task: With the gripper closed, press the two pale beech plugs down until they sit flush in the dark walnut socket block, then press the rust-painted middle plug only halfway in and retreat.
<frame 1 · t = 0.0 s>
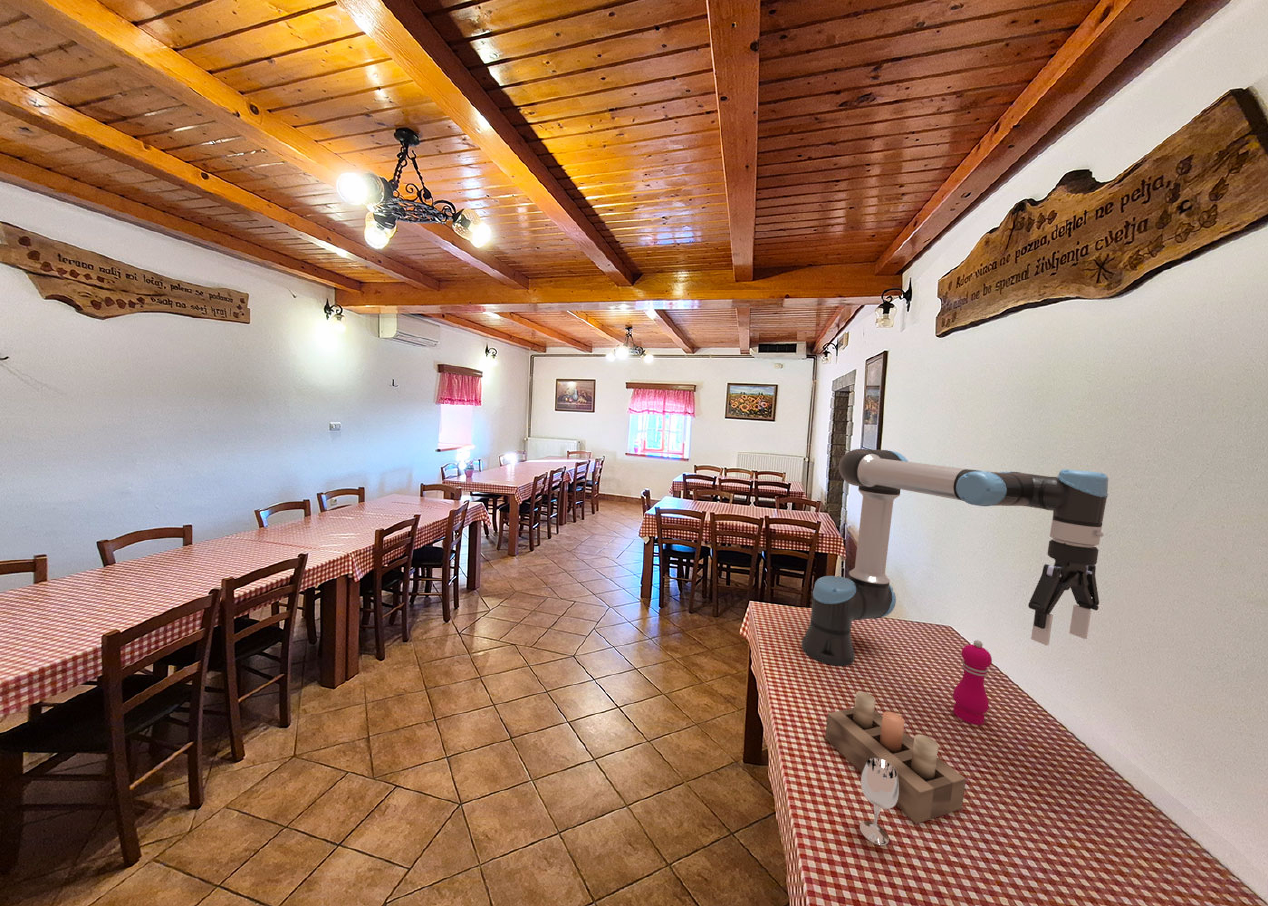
hand: (1059, 639, 96), 28 cm above the table, fingers open, 13 cm apart
rust plug: (892, 731, 91), point 9 cm above the table, slide at 0.0 cm
walnut socket block: (887, 770, 92), on the table
far beech plug: (864, 709, 98), point 9 cm above the table, slide at 0.0 cm
near beech plug: (924, 756, 85), point 9 cm above the table, slide at 0.0 cm
pepper mill: (968, 717, 112), on the table
wineglass: (873, 834, 77), on the table
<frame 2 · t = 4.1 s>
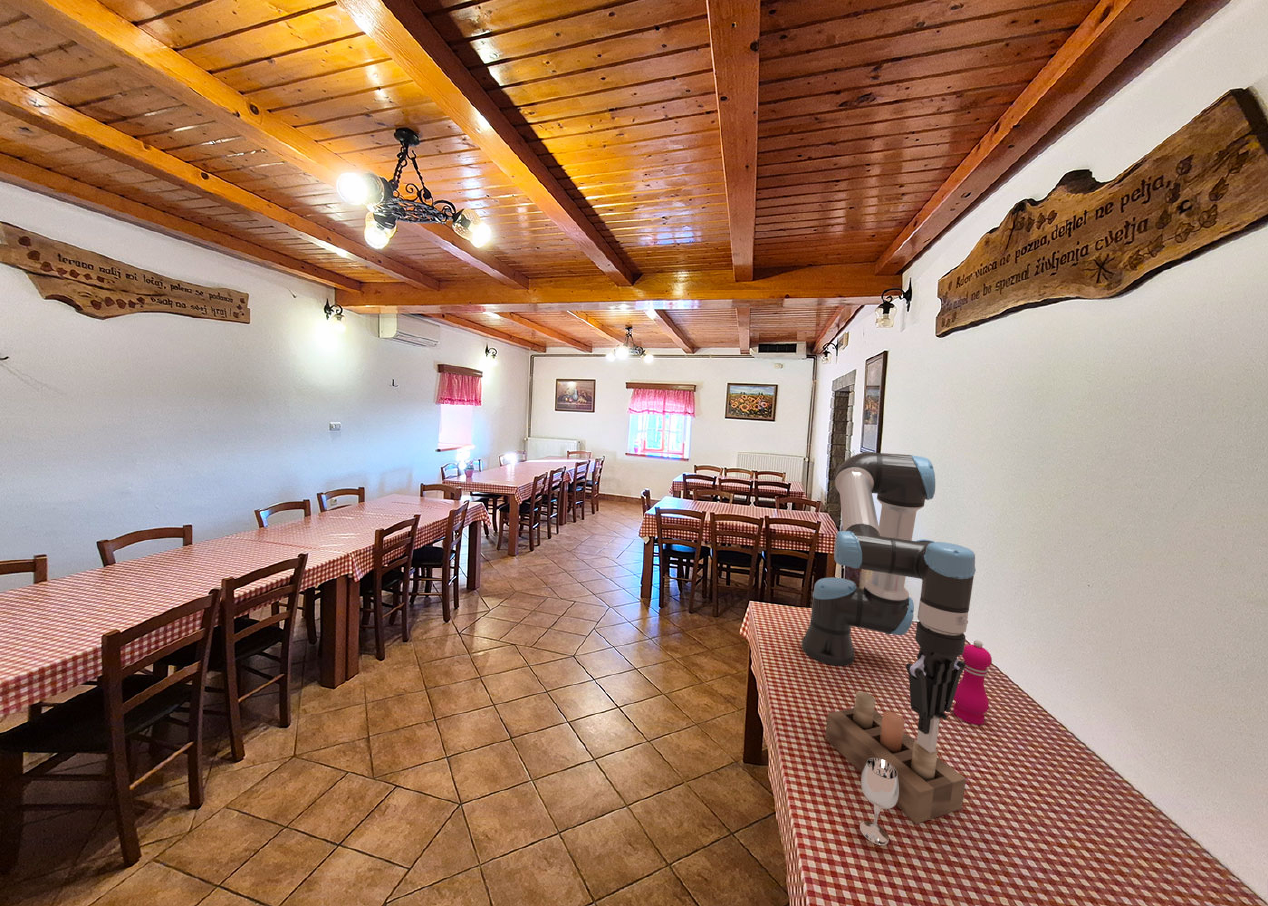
hand: (925, 747, 84), 10 cm above the table, fingers closed
near beech plug: (923, 762, 85), point 7 cm above the table, slide at 1.3 cm, touching gripper
everything else where it was.
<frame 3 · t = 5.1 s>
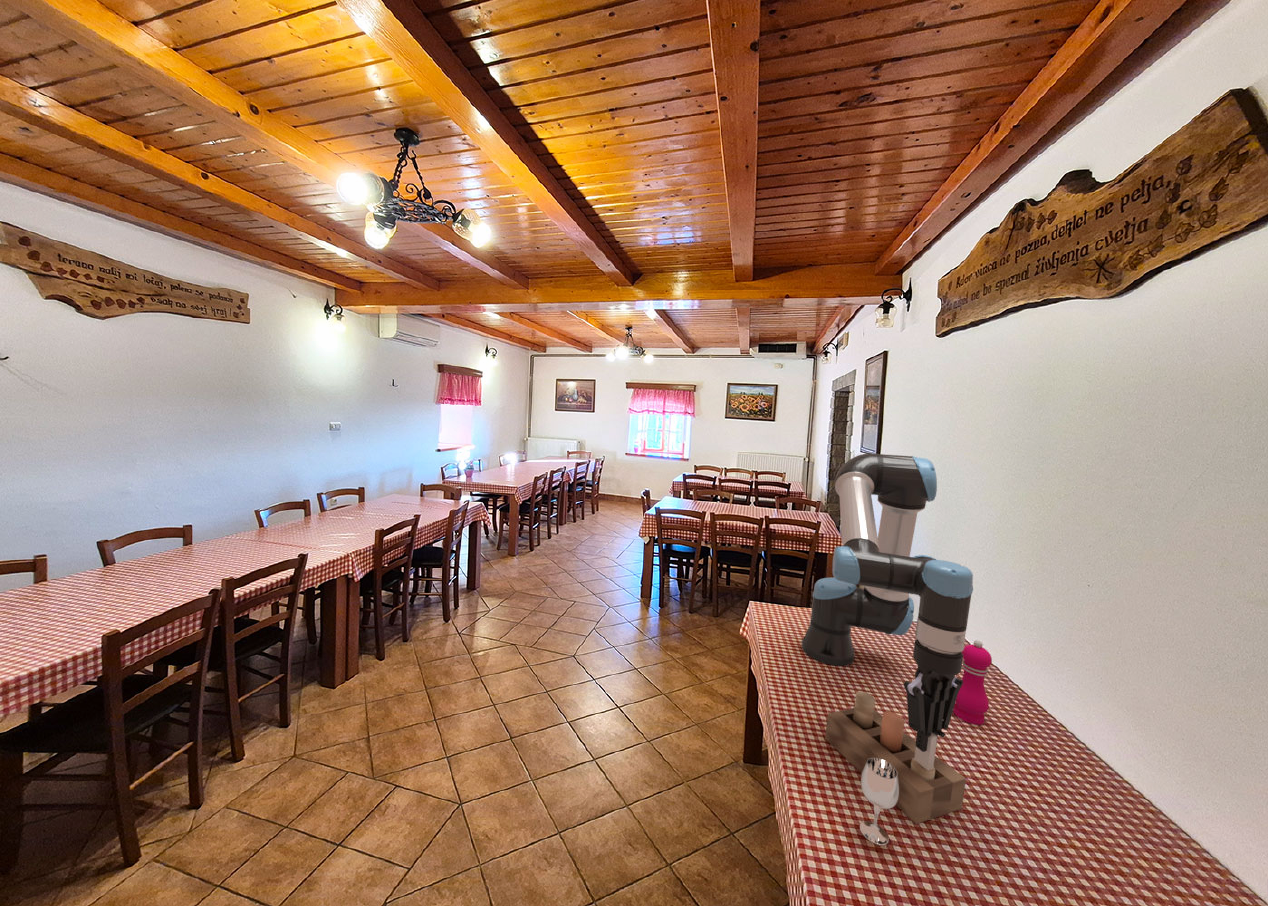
hand: (923, 764, 85), 7 cm above the table, fingers closed
near beech plug: (921, 779, 85), point 4 cm above the table, slide at 4.7 cm, touching gripper
everything else where it was.
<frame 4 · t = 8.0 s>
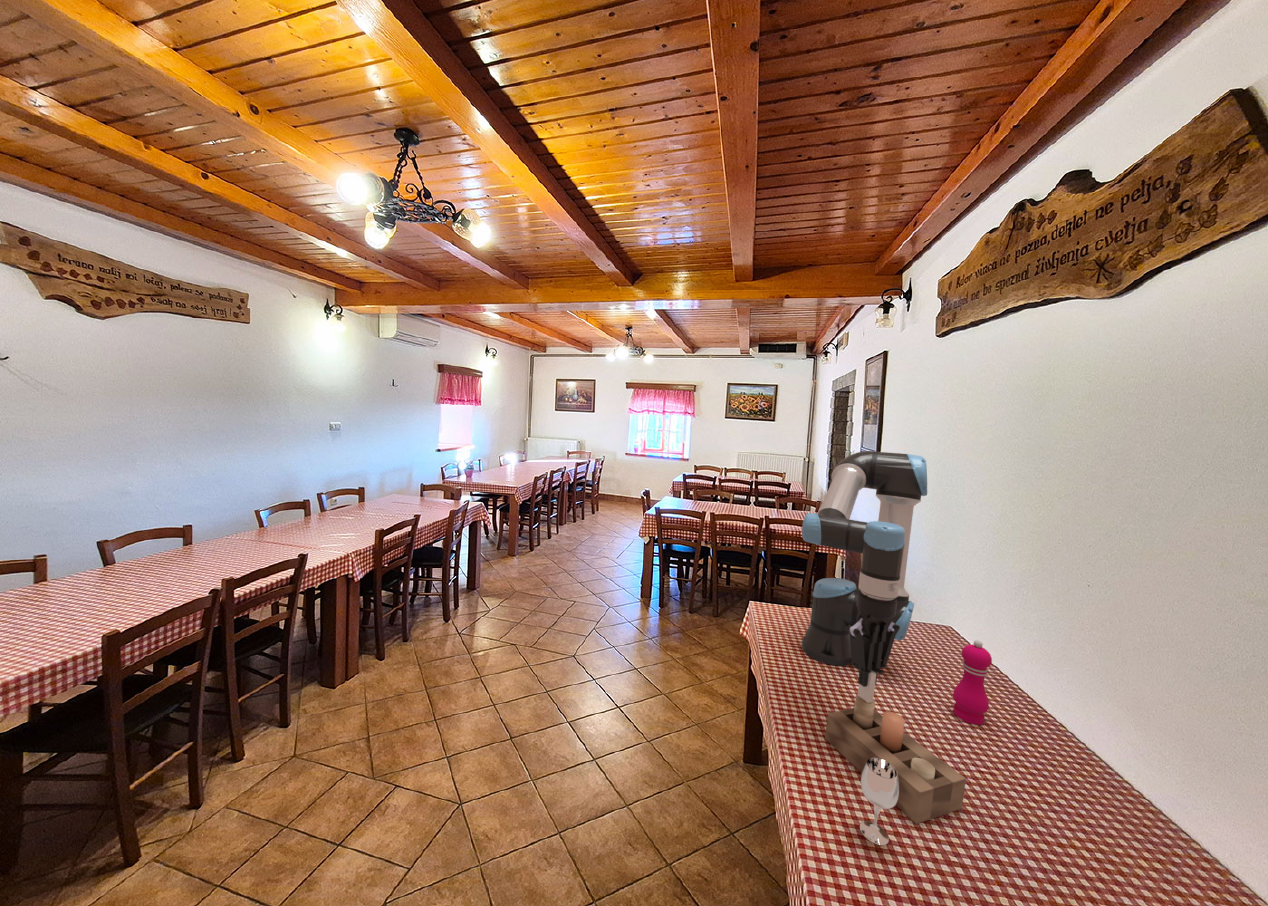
hand: (865, 698, 97), 11 cm above the table, fingers closed
far beech plug: (863, 712, 98), point 8 cm above the table, slide at 0.6 cm, touching gripper
near beech plug: (921, 779, 85), point 4 cm above the table, slide at 4.8 cm
everything else where it was.
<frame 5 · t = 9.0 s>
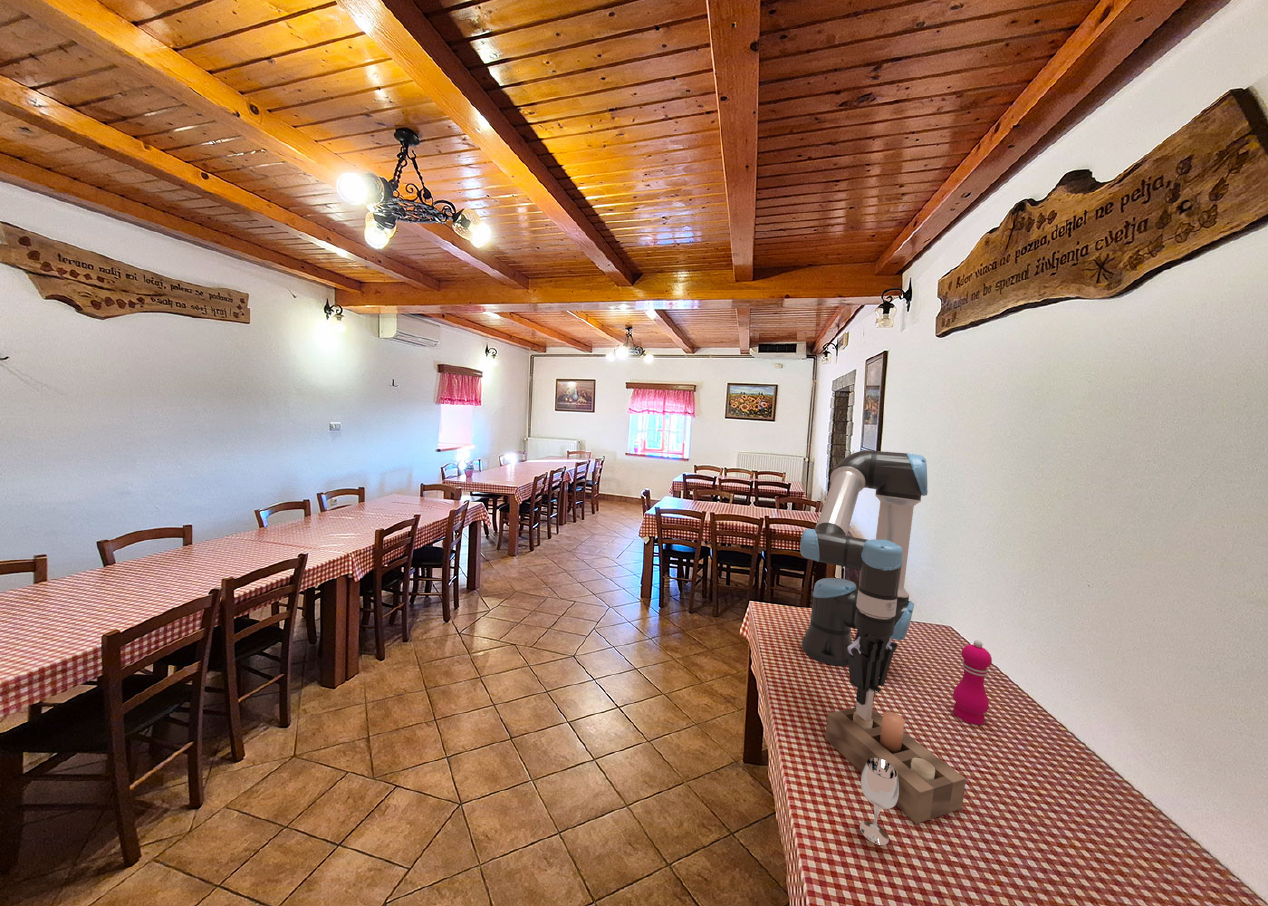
hand: (863, 716, 98), 7 cm above the table, fingers closed
far beech plug: (861, 730, 98), point 4 cm above the table, slide at 4.7 cm, touching gripper
everything else where it was.
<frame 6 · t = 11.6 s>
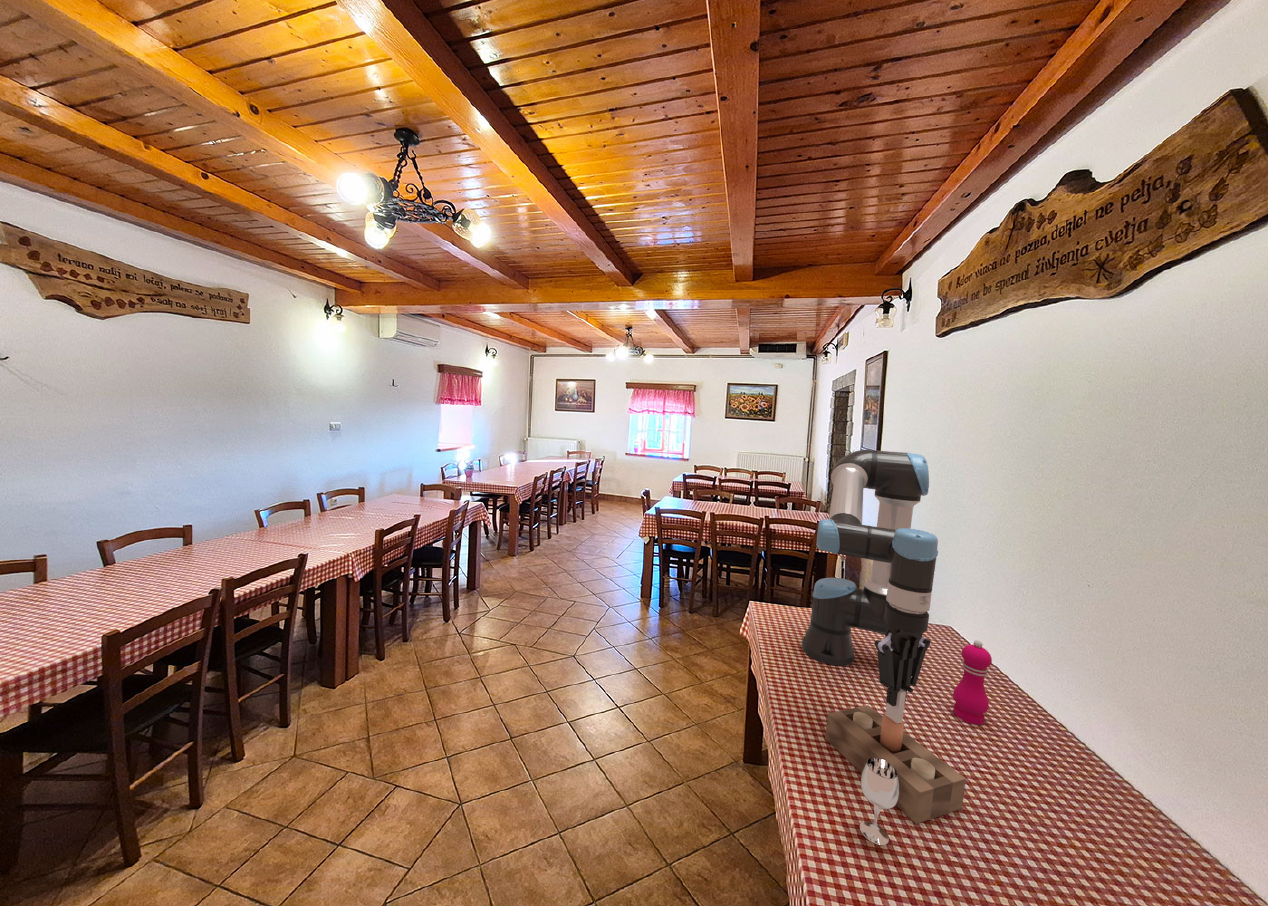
hand: (893, 718, 91), 11 cm above the table, fingers closed
rust plug: (891, 733, 91), point 8 cm above the table, slide at 0.4 cm, touching gripper
far beech plug: (861, 730, 98), point 4 cm above the table, slide at 4.8 cm
everything else where it was.
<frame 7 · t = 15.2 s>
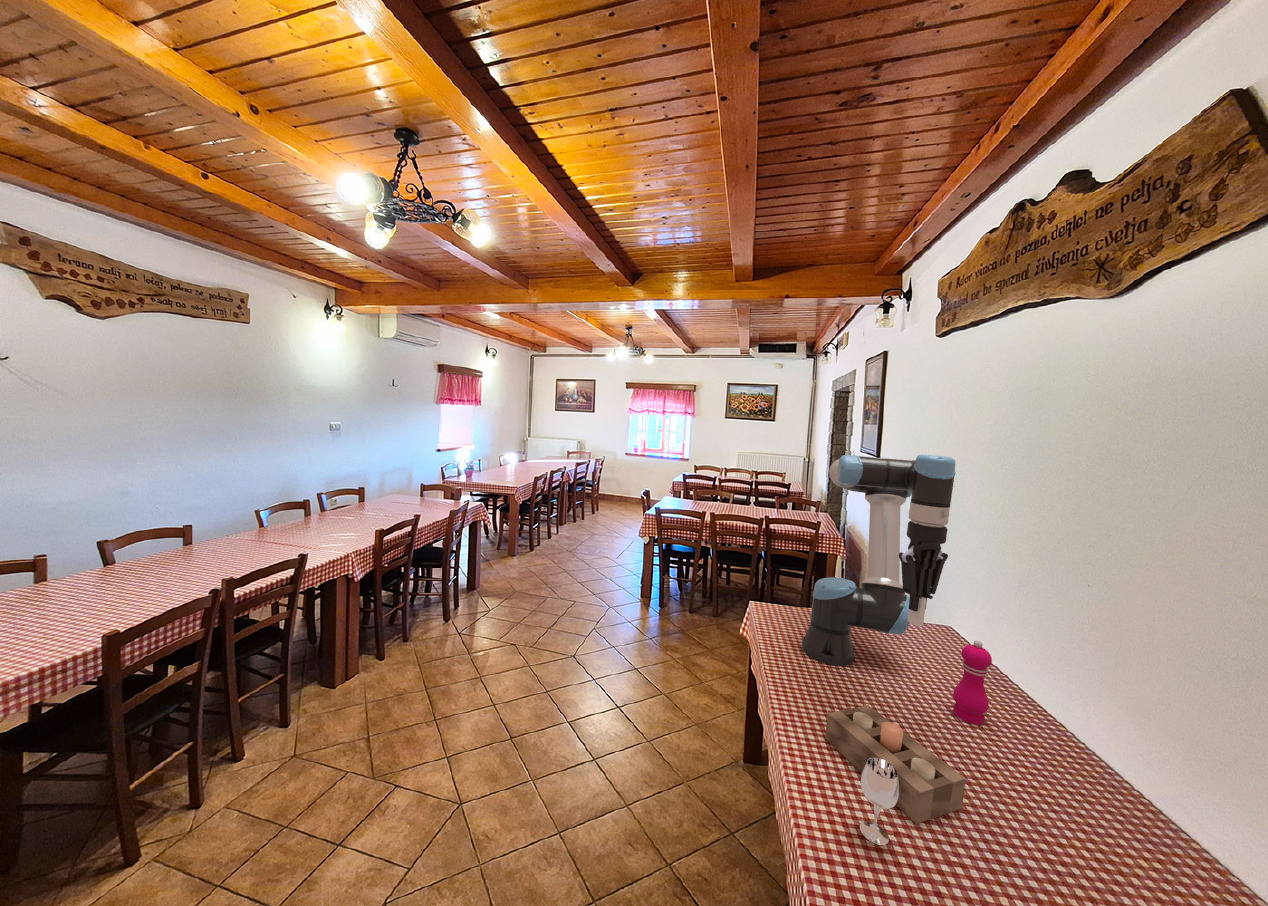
hand: (915, 623, 102), 26 cm above the table, fingers closed
rust plug: (890, 741, 91), point 6 cm above the table, slide at 2.3 cm
everything else where it was.
at the end: near beech plug slide at 4.8 cm; far beech plug slide at 4.8 cm; rust plug slide at 2.3 cm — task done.
